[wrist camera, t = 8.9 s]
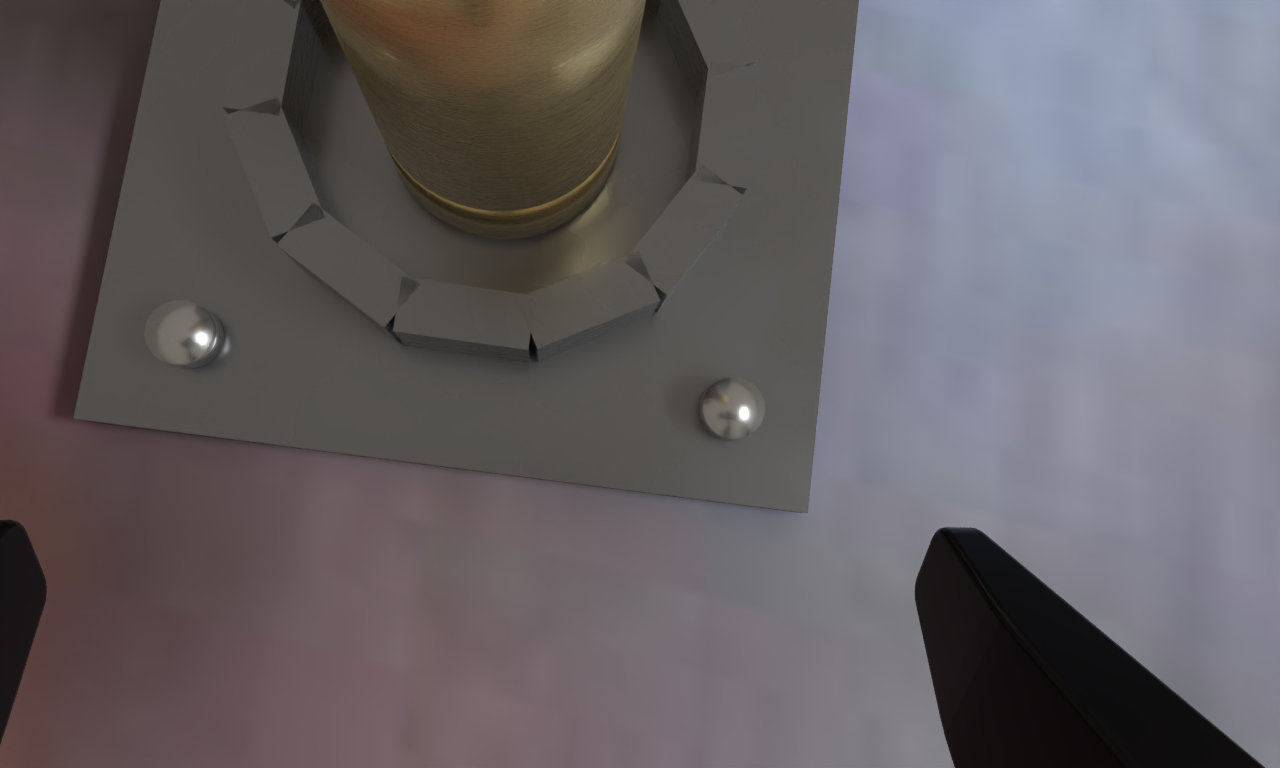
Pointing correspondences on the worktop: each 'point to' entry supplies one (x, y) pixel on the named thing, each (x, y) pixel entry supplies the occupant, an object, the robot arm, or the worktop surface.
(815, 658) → the worktop surface
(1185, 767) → the robot arm
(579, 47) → the brass cylinder
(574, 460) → the floor flange
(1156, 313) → the worktop surface
